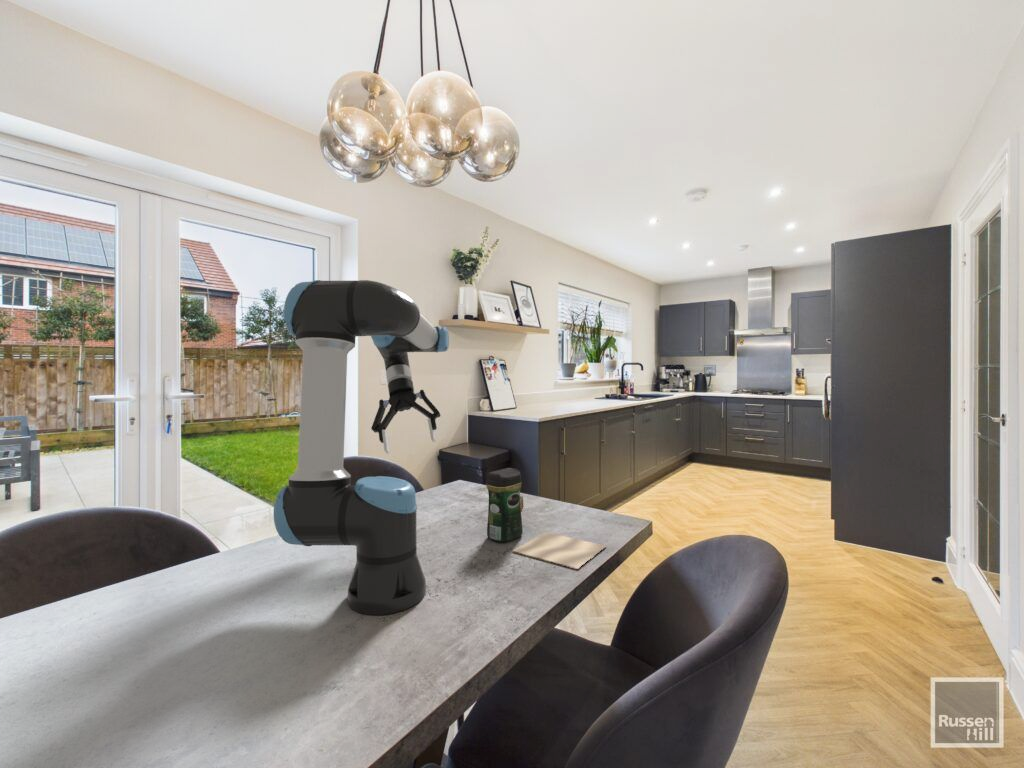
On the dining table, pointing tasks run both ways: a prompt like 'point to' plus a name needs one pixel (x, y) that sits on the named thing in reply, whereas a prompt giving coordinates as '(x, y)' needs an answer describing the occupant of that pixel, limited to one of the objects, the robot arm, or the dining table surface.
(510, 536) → the coffee jar
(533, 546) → the mat
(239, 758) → the dining table surface
